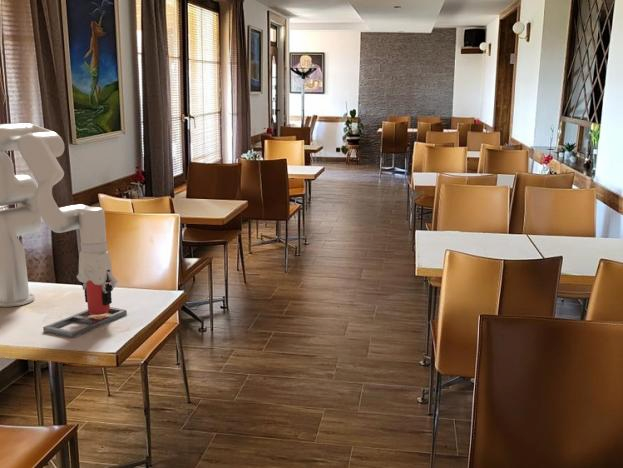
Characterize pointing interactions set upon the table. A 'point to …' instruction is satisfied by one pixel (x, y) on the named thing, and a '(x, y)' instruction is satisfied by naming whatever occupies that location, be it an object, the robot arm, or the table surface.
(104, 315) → the gray rectangular frame
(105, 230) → the robot arm
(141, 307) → the table surface
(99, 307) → the beer can
